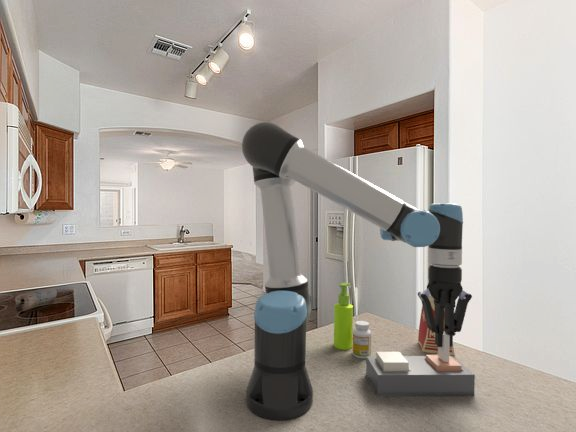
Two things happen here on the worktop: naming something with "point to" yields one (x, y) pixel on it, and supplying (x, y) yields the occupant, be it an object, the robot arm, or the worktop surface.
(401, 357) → the key cream
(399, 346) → the worktop surface
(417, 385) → the key housing
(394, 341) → the worktop surface
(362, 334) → the supplement bottle
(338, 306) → the soap dispenser
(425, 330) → the milk carton
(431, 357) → the key terracotta
